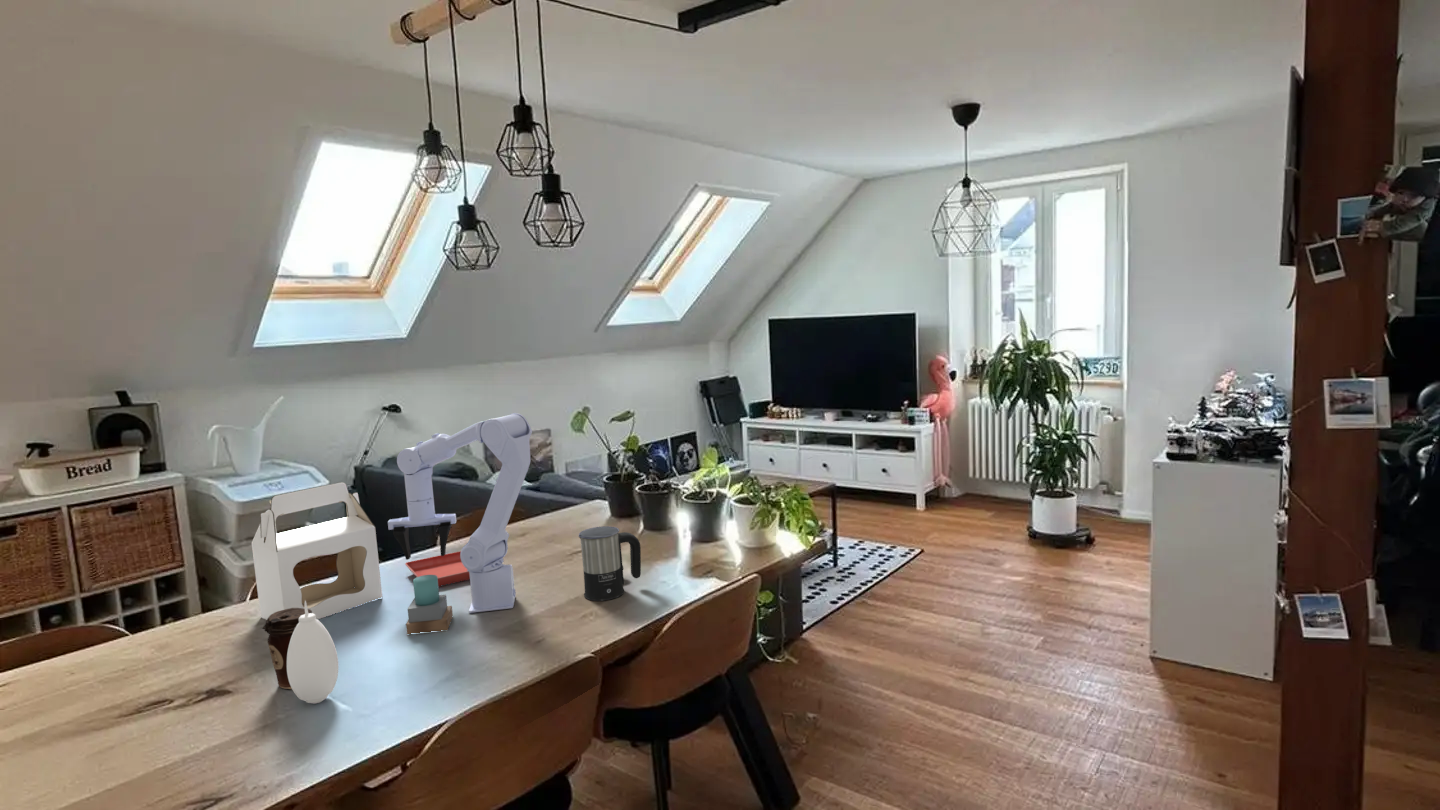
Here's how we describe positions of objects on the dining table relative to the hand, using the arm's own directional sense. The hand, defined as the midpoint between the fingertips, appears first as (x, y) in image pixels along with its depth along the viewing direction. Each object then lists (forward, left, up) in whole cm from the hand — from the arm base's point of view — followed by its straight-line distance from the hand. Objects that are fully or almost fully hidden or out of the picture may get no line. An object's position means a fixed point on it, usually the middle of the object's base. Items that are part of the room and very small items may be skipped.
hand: (425, 556), depth 182 cm
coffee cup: (+17, +37, -11) cm, 42 cm away
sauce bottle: (+11, +46, -11) cm, 48 cm away
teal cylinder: (-3, +17, -5) cm, 18 cm away
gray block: (-3, +17, -8) cm, 19 cm away
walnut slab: (-3, +16, -11) cm, 20 cm away
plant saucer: (-2, -18, -11) cm, 21 cm away
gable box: (+24, -3, -11) cm, 26 cm away
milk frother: (-40, +5, -11) cm, 42 cm away
